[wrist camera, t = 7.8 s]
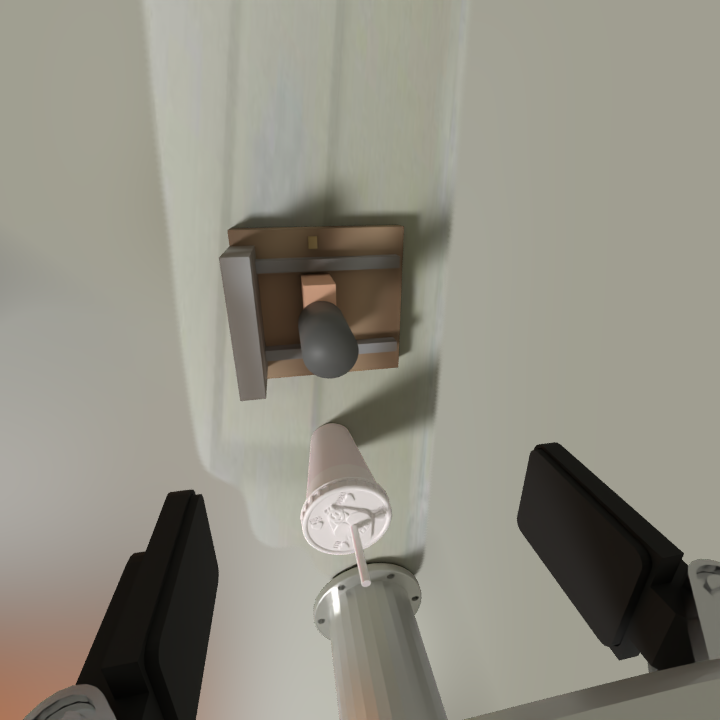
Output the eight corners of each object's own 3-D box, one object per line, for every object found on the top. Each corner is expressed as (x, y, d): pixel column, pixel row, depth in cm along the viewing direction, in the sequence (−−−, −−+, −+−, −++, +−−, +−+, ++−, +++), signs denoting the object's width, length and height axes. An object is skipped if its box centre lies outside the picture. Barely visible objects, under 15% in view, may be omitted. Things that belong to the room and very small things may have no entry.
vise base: (397, 225, 28) (428, 233, 23) (393, 360, 33) (417, 396, 27) (230, 228, 26) (216, 238, 21) (249, 372, 31) (242, 414, 25)
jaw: (335, 272, 27) (358, 305, 19) (337, 338, 29) (358, 391, 21) (293, 274, 27) (299, 308, 19) (298, 341, 29) (305, 397, 21)
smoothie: (330, 479, 37) (356, 629, 24) (280, 444, 34) (281, 591, 22) (379, 436, 36) (432, 569, 23) (331, 396, 33) (363, 522, 21)
